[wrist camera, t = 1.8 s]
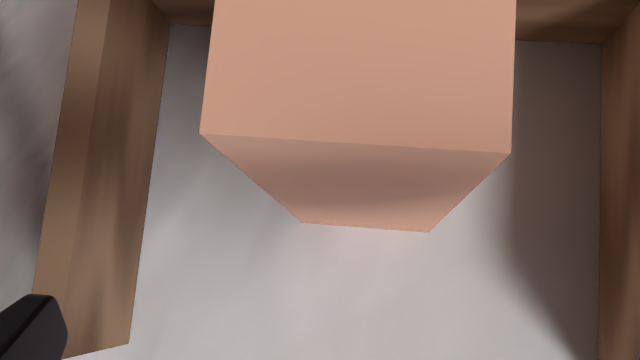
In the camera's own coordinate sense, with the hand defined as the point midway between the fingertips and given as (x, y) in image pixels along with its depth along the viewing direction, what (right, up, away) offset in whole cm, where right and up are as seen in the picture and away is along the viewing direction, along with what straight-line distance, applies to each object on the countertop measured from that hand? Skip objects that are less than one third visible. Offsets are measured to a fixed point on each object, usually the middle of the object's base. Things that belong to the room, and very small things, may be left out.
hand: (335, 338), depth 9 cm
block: (+2, +3, +12) cm, 13 cm away
